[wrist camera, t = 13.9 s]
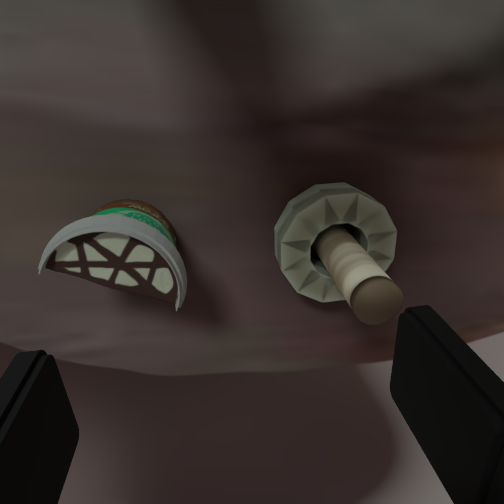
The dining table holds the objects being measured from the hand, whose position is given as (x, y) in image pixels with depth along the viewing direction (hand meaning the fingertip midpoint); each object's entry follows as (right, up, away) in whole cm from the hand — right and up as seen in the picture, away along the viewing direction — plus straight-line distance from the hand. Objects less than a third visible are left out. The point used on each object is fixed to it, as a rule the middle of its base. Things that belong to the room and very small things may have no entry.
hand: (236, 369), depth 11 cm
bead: (+9, +5, +33) cm, 34 cm away
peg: (+9, +5, +33) cm, 34 cm away
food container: (-11, +7, +29) cm, 32 cm away
